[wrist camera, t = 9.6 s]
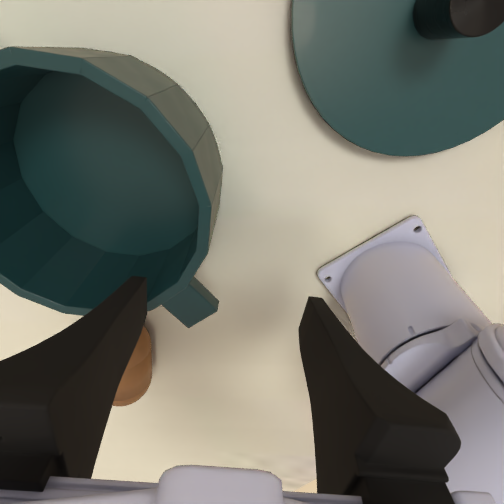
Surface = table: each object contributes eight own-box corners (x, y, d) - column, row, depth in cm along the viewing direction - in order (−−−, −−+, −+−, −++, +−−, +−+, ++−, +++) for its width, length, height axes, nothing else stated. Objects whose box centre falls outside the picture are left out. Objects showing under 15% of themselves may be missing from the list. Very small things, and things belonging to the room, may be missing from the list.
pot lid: (549, -341, 12) (704, -548, 8) (613, 42, 17) (720, 39, 13) (233, -25, 16) (225, -50, 12) (367, 195, 22) (392, 227, 18)
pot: (60, -71, 15) (-50, -141, 10) (285, 219, 23) (295, 274, 17) (-76, 112, 20) (-207, 137, 14) (152, 306, 27) (125, 372, 22)
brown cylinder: (158, 374, 32) (144, 420, 28) (108, 369, 31) (87, 415, 27) (157, 309, 27) (140, 352, 23) (100, 303, 27) (73, 345, 23)
